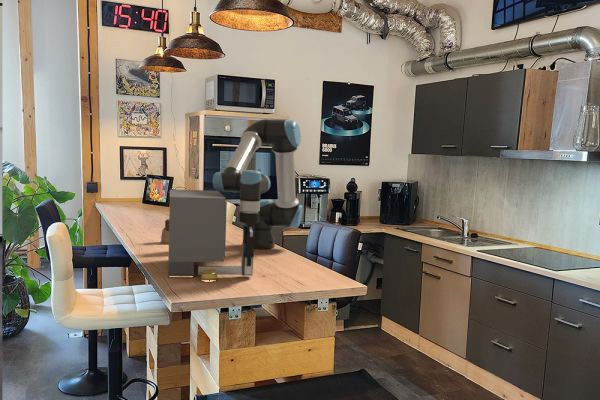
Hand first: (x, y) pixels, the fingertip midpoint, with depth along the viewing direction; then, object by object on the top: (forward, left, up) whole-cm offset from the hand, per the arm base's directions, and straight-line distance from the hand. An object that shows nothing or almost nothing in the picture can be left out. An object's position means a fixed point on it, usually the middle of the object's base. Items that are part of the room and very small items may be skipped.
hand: (247, 272), depth 187 cm
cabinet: (+19, -16, -2) cm, 25 cm away
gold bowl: (+14, +3, -2) cm, 15 cm away
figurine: (+29, -66, -2) cm, 72 cm away
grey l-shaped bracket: (+8, 0, -1) cm, 8 cm away
